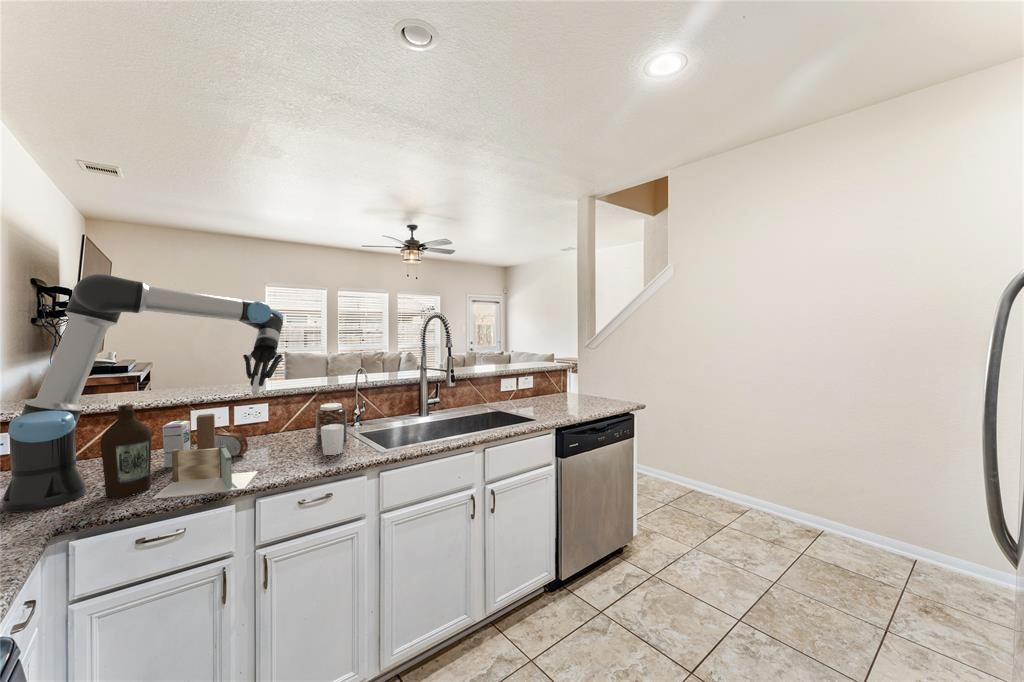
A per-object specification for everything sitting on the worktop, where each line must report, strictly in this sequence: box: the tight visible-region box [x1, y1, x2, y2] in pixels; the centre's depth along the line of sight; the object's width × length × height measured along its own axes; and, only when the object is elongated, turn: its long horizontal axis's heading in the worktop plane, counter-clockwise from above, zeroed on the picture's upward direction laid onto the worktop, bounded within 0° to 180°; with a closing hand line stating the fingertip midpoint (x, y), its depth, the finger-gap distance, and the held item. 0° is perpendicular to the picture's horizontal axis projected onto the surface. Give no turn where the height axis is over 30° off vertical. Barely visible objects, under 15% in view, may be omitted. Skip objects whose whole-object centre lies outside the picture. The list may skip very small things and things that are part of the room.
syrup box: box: [162, 420, 192, 468], centre depth 140 cm, size 6×6×14 cm
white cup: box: [321, 424, 344, 456], centre depth 152 cm, size 8×8×10 cm
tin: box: [215, 430, 249, 458], centre depth 149 cm, size 15×3×8 cm, turn 76°
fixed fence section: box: [171, 445, 226, 482], centre depth 126 cm, size 14×2×10 cm, turn 108°
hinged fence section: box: [221, 447, 233, 489], centre depth 122 cm, size 12×1×9 cm, turn 42°
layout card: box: [151, 470, 259, 500], centre depth 122 cm, size 22×14×1 cm, turn 108°
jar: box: [315, 402, 348, 446], centre depth 168 cm, size 12×12×15 cm
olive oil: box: [100, 403, 153, 499], centre depth 117 cm, size 11×11×25 cm
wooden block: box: [196, 413, 216, 450], centre depth 134 cm, size 9×4×18 cm, turn 123°
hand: (254, 392), depth 142 cm, fingers closed
